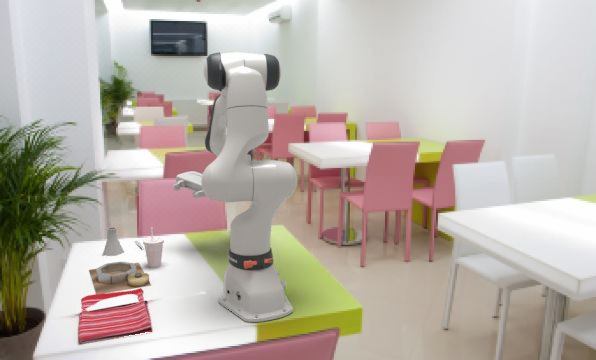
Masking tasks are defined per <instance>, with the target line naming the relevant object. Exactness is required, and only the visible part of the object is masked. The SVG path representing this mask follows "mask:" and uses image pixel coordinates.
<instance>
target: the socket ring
mask: <svg viewBox="0 0 596 360" xmlns="http://www.w3.org/2000/svg"><path fill="white" fill-rule="evenodd" d="M133 263H134V262H127V261H117V262H116V261H115V262H109V263H104V264H102V265H100V266H99V267H97V268H95V269H96V276H97V280H98V282H100V283H106V284H117V283H123V282H127V281H128V276H129V275H131V274H134V273H137V269H136V266H135V264H133ZM115 271H127V272H125V273H119V274H113V275H112V274H107V273H108V272H115Z"/></svg>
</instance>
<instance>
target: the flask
mask: <svg viewBox="0 0 596 360" xmlns="http://www.w3.org/2000/svg"><path fill="white" fill-rule="evenodd" d="M117 229H118V227H116V226H109V227H107V228H106V231H107V239H106V243H105V245H104V248H103V252H102V256H106V257H115V256H116V257H117V256H119V255H122V254H124V253H125V251H124V249H123V247H122V245H121V242H120V240H119V238H118V234H117Z"/></svg>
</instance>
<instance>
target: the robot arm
mask: <svg viewBox="0 0 596 360" xmlns="http://www.w3.org/2000/svg"><path fill="white" fill-rule="evenodd" d="M203 77H204V80H205V82H206V84H207V86H209V88H210V89H212V90H215V91H219V92H220V94H218V95H217V96H216V98H215V99H214V102H213V104H212V108H211V113H210V119H209V126H208V130H207V133H206V135H205V138H204V145H205V149H206V150H207V151H208V152H209V153H210V154H213V155H215V156H216V158H215V159H214V160H213V161H212V162H211V163H209V164H208V165H207V166H206V167H205V169H204V171H203V172H202V173H201V172H198V171H194V170H193V171H192V170H191V171H185V172H182V173H180V174H177V175H176V177H175V178H176V179H175V180H176V181H175V182H176V183H175V184H173V185H172V187H173V188H172V189H173V190H174V191H180V190H181V188H183V189H187V190H190V191H193V192H192V197H193V198H195V199H198V198H202V197H203V198H204V197H207V198H208V199H209V200H211V201H217V202H224V203H225V202H226V203H236V202H237V203H239V202H251V204H250V205H249V207H248V208H247V209H246V210H244V211H243V212H241V213H239V214H238V215H236V216H235V217H234V218H233V219H232V220H231V223H230V226H229V227H230V228H229V230H230V231H229V232H230V233H229V234H230V237H229V238H230V239H229V240H230V241H229V242H230V243H229V245H230V248H229V249H228V256H227V257H228V263H229V264H228V266H227V268H226V270H225V271H224V273H223V289H222V290H223V291H222V295H220V296H219V297H218V304H219V305H221V306H222V307H224V308H225V309H227V310H228V309H229V312H231V311H232V312H231V313H232V314H234V315H235V316H237V317H238V316H239V318H240V319H241V320H243V321H244V322H249V323H257V322H258V323H259V322H268V321H271V320H272V321H273V320H275V319H280V318H283V317H287V316H288V315H290V314H292V313H293V312H294V308H293V305H292V303H291V301H289V299H288V297H287V296H286V294H285V289H286V288H287V281H286V280H284V279H282V280H281V278H280V271H277V270H276V269H277V268H275V264H274V258H273V257H274V254H273V250H272V248H271V238H272V237H271V236H272V235H271V232H272V225H273V220H274V217H275V214H276V213H277V211H278V209H279V208H280V207H281V205H282V204H283V203H284V202H285V201H287V199H288V198H290V197H291V196H292V195H293V194H294V192H296V189H297V186H298V174H297V172H296V169H295V167H294V166H293V165H292V164H291V163H290V162H288V161H287V162H286V161H281V160H275V159H265V160H264V159H263V160H253V149H255V148H257V147H259V146H261V145H262V144H263V143H265V142H266V141H267V139H268V138H269V134H270V132H269V131H270V130H269V129H270V128H269V111H268V110H269V109H268V108H269V107H268V106H269V105H268V96H267V92H268V91H273V90H276V89H277V87H278V86H279V84H280V80H281V78H282V68H281V64H280V61H279V59H278V58H277V57H276V55H272V54H268V53H264V54H261V53H255V52H254V53H253V52H243V51H231V52H222V53H221V52H214V53H210V54H209V55H208V56H207V57H206V60H205V62H204V65H203Z"/></svg>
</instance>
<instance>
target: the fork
mask: <svg viewBox="0 0 596 360" xmlns="http://www.w3.org/2000/svg"><path fill="white" fill-rule="evenodd" d="M138 241H139V240H135V241H134V243H135V245H137V246H138V247H140V249H142V251H145V247H143V246H142V244H141V242H140V241H139V242H138Z"/></svg>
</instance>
